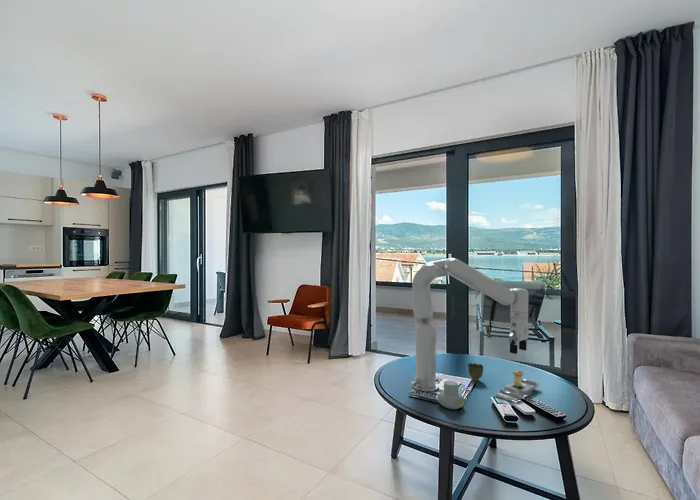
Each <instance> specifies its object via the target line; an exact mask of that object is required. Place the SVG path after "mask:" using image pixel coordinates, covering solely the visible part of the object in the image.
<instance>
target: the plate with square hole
mask: <svg viewBox="0 0 700 500" xmlns="http://www.w3.org/2000/svg"><path fill="white" fill-rule="evenodd" d="M503 386H504V387H503V388H504V389H500V390H499V391H498V392H496V395H495V396H496V397H497V398H499V399H502V398H503V399H502V400H505V401H508V402H511V401H512V400H514V401H518V400H521V399H522V397H523V396H524V395H529V396H531V395H533V391H534V390H536V389H537V388H539V387H540V384H539V383H538V382H535V381H533V380H532V381H531V380H528V379H525V378H522V389H518V388H515V387H514V380H513V381H512V382H509V383H508V384H505V385H503ZM521 401H522V400H521Z"/></svg>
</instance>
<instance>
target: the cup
mask: <svg viewBox="0 0 700 500" xmlns="http://www.w3.org/2000/svg"><path fill="white" fill-rule="evenodd" d="M467 367H468V368H467V369H468V374H469V376H470V378H471V380H472V381H473V382H479V381H480V378H482V377H483V372H484V366H483V364H482V363H481V364H479V363H478V364H477V362H471V363H470V362H469V363H468V364H467Z"/></svg>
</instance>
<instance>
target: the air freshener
mask: <svg viewBox="0 0 700 500" xmlns="http://www.w3.org/2000/svg"><path fill="white" fill-rule="evenodd" d="M437 401H438V403H439V404H440V405H441V406H442V407H444V408H446V409H450V410H457V409H460V408H462V407H463V406H464V404H465V397H464V396H463V395H462V393H460V392H459V383H458V382H457V381H455V380H445V381H444V382H443V390H442V391H441V392H439V393H438V395H437Z"/></svg>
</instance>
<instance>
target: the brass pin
mask: <svg viewBox="0 0 700 500" xmlns="http://www.w3.org/2000/svg"><path fill="white" fill-rule="evenodd" d="M512 374H513V376H514V377H513V381H514V387H515V388H518V389H522V379H523V376H524V372H523V371H522V370H517V369H514V370H512Z"/></svg>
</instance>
